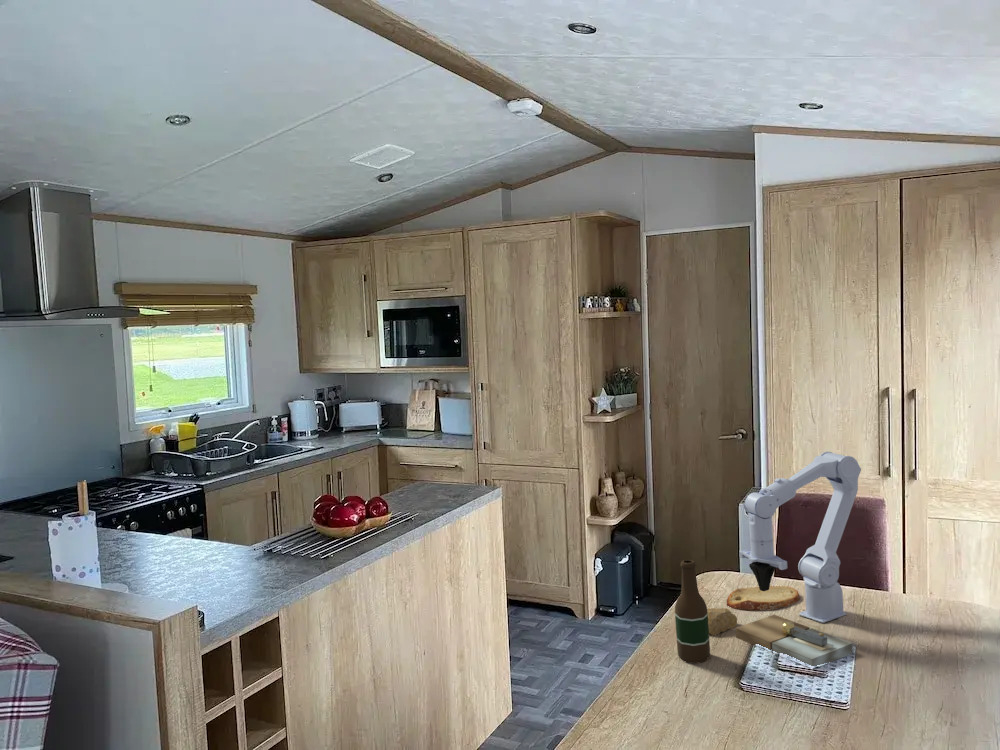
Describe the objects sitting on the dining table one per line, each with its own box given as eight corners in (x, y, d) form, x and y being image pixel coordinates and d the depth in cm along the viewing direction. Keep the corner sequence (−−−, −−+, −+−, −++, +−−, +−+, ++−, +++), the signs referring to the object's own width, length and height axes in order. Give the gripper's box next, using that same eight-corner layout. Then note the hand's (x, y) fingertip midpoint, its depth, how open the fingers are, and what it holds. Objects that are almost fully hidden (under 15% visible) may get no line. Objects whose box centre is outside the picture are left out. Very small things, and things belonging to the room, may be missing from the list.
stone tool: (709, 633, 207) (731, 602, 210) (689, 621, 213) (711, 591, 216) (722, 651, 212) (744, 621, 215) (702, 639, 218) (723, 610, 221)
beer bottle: (711, 664, 193) (705, 566, 192) (678, 663, 195) (671, 566, 193) (709, 650, 201) (703, 556, 199) (677, 650, 203) (671, 556, 201)
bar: (780, 633, 201) (779, 623, 201) (787, 630, 203) (787, 620, 203) (820, 648, 191) (820, 637, 191) (828, 645, 193) (828, 634, 192)
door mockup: (774, 623, 214) (773, 606, 214) (852, 653, 193) (851, 633, 193) (735, 637, 207) (734, 619, 207) (812, 669, 186) (811, 649, 186)
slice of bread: (803, 595, 233) (802, 582, 233) (788, 617, 218) (787, 604, 218) (741, 588, 243) (740, 576, 243) (722, 608, 228) (721, 596, 228)
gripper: (729, 536, 215) (732, 586, 216) (772, 548, 203) (775, 601, 204) (749, 531, 219) (752, 580, 220) (791, 542, 206) (794, 594, 207)
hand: (764, 589), depth 212 cm, fingers closed
